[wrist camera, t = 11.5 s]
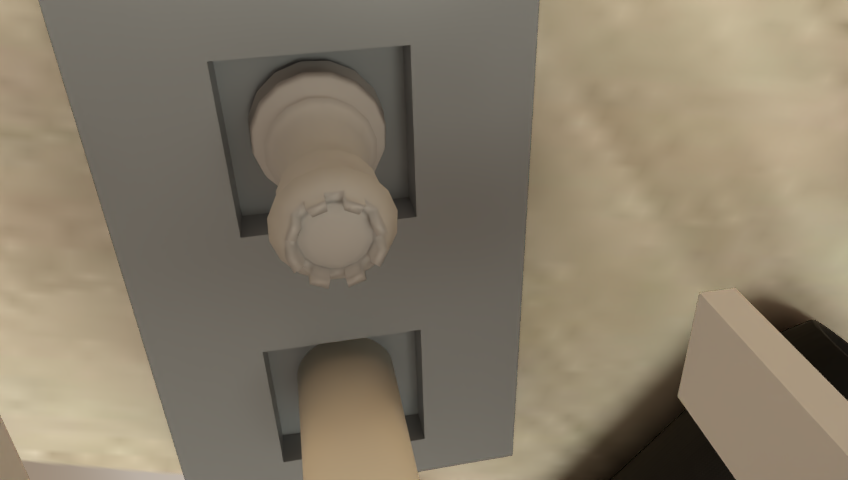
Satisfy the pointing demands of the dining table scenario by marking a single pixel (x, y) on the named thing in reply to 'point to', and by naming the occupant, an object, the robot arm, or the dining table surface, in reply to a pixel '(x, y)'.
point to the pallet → (258, 261)
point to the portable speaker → (688, 446)
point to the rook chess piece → (324, 170)
